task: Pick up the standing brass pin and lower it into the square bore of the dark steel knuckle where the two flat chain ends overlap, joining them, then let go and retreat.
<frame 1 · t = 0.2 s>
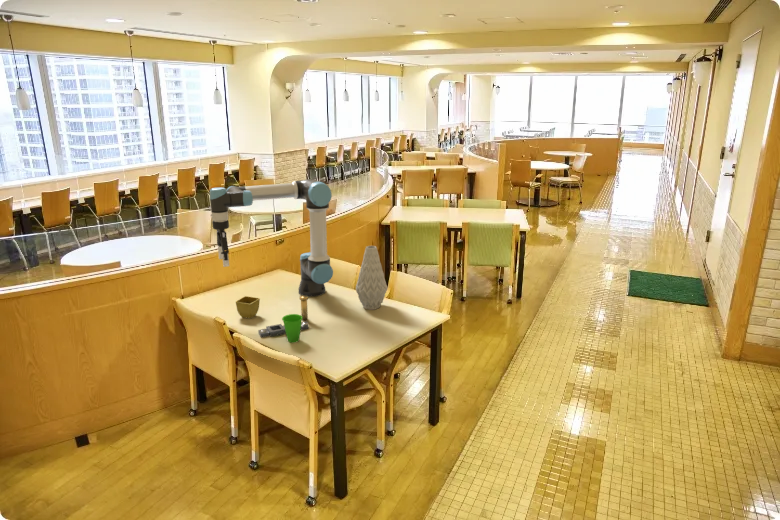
hand: (224, 262, 261), 28 cm above the table, fingers open, 13 cm apart
brass pin: (304, 319, 264), on the table
vase: (371, 307, 281), on the table
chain: (275, 332, 249), on the table
flower pot: (249, 316, 267), on the table
cup: (293, 340, 241), on the table
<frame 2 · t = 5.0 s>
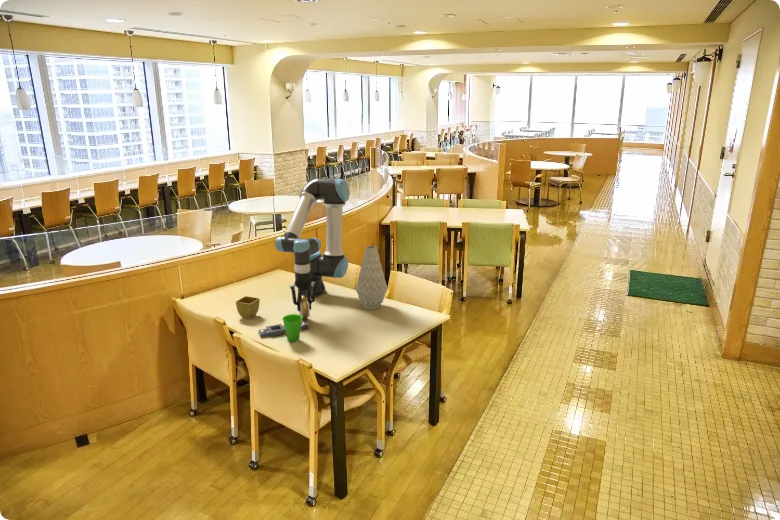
hand: (304, 316, 264), 2 cm above the table, fingers closed on brass pin, 3 cm apart
brass pin: (304, 319, 264), on the table, touching gripper
everything else where it was.
when the fingers open (3 cm above the table, at t = 10.0 s): brass pin stays where it is, resting in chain.
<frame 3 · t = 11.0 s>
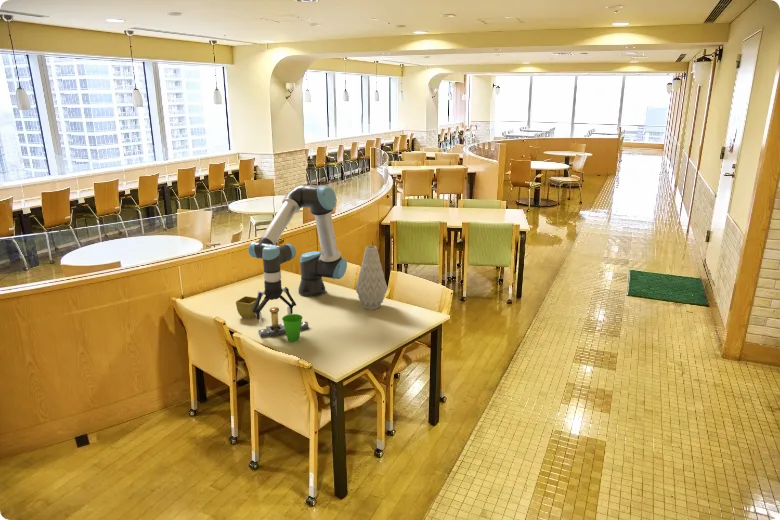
hand: (275, 322, 248), 5 cm above the table, fingers open, 13 cm apart
brass pin: (275, 332, 249), resting in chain
everything else where it was.
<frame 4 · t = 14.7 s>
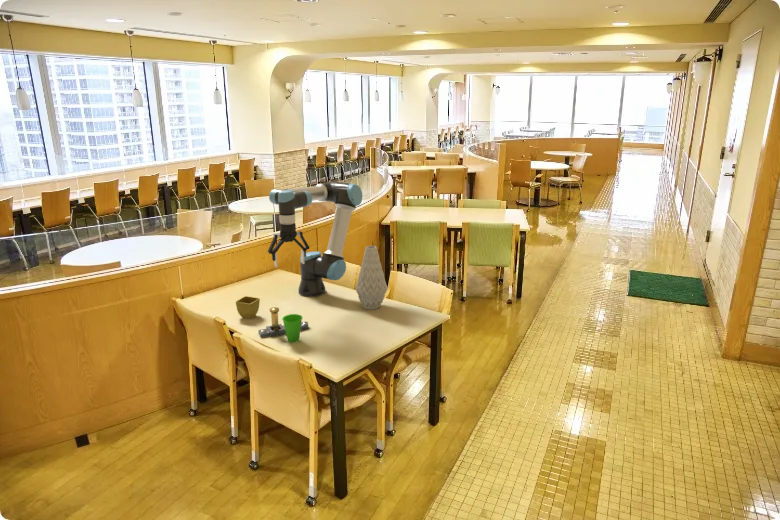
hand: (289, 265, 261), 27 cm above the table, fingers open, 13 cm apart
nothing on the table moved.
at the end: brass pin 0.1 cm off-centre on the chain, point 0.0 cm above the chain's base; brass pin tilted 0°; the gripper is holding nothing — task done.
